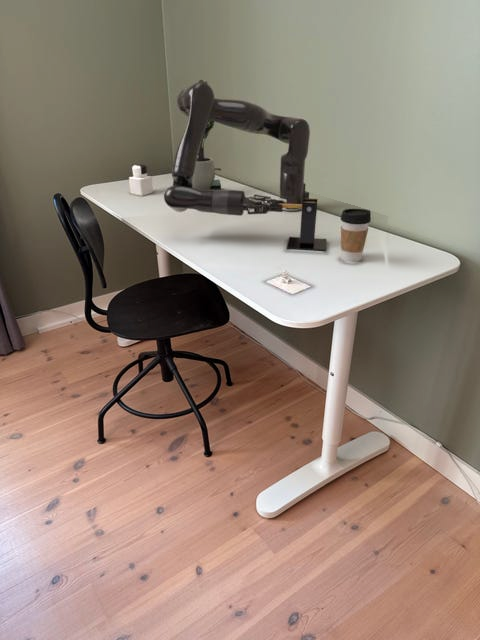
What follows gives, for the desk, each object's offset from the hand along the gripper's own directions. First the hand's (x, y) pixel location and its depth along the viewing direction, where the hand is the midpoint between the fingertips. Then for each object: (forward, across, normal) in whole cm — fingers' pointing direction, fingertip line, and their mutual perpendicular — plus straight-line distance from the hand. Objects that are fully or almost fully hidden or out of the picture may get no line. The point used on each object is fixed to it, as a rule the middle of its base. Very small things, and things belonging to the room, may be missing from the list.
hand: (282, 206), depth 146 cm
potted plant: (-40, +55, +14) cm, 69 cm away
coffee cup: (+22, -9, +12) cm, 27 cm away
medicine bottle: (-67, +55, +15) cm, 88 cm away
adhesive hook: (+5, -29, +12) cm, 32 cm away
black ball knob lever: (+2, 0, +1) cm, 3 cm away
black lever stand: (+8, 0, +12) cm, 15 cm away
